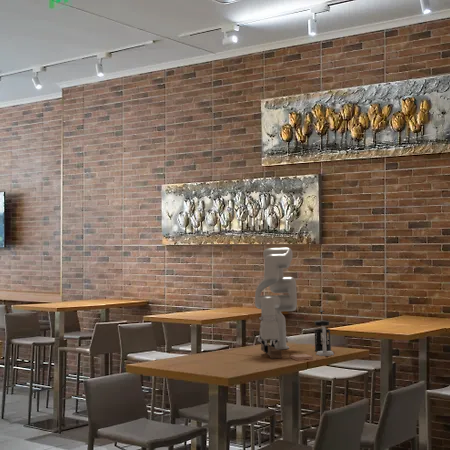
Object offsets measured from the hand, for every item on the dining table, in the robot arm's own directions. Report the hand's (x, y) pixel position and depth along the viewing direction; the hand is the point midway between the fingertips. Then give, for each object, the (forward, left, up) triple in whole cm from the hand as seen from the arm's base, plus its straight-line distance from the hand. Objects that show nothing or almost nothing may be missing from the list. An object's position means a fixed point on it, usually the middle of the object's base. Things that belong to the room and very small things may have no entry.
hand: (269, 352), depth 412 cm
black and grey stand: (+9, +29, -2) cm, 30 cm away
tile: (+13, +12, -2) cm, 18 cm away
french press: (-7, +34, -2) cm, 35 cm away
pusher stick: (0, 0, -1) cm, 1 cm away
